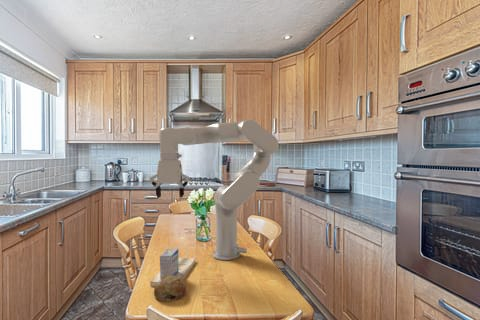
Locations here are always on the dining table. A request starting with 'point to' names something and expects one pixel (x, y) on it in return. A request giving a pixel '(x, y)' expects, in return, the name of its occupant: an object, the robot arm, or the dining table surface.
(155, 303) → the dining table surface
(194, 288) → the dining table surface
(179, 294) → the bread roll
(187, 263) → the board
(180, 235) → the dining table surface
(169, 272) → the medicine box
